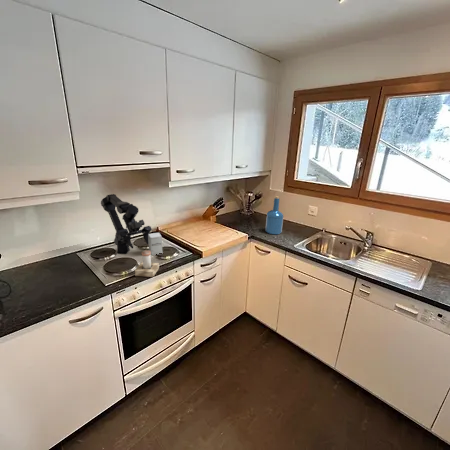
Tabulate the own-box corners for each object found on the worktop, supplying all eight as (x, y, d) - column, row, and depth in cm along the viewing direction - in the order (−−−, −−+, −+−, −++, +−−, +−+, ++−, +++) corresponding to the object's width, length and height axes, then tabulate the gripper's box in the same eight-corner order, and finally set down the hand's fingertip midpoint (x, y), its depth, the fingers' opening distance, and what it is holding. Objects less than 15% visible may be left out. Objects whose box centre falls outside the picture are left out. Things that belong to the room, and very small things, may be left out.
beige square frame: (135, 276, 141) (134, 270, 139) (142, 267, 150) (142, 262, 149) (153, 277, 140) (152, 272, 139) (159, 268, 149) (158, 263, 148)
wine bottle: (276, 228, 220) (280, 194, 210) (284, 234, 208) (289, 198, 198) (262, 229, 216) (265, 194, 206) (269, 235, 204) (273, 198, 194)
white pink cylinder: (141, 273, 143) (140, 253, 139) (145, 269, 147) (143, 250, 143) (150, 274, 142) (148, 254, 138) (153, 269, 147) (151, 250, 143)
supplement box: (151, 256, 164) (150, 237, 160) (148, 251, 170) (147, 233, 166) (162, 254, 167) (161, 236, 163) (160, 249, 173) (159, 232, 169)
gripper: (117, 219, 138) (128, 244, 135) (149, 212, 150) (160, 236, 147) (113, 228, 146) (123, 252, 143) (143, 221, 158) (153, 244, 155)
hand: (140, 246), depth 146 cm, fingers open, 9 cm apart
